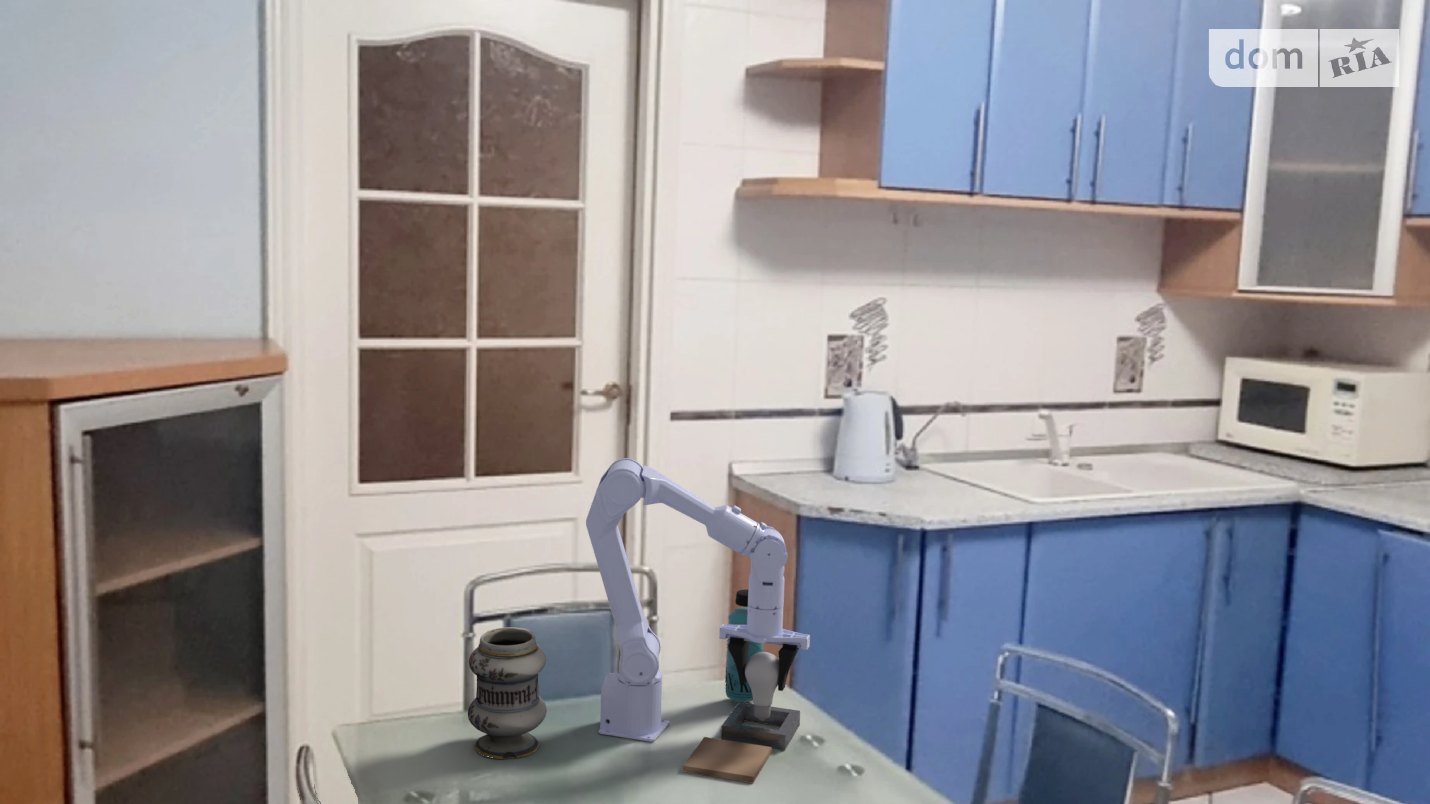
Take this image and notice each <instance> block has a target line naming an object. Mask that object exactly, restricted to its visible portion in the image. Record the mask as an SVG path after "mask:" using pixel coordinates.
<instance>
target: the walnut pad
mask: <svg viewBox="0 0 1430 804" xmlns="http://www.w3.org/2000/svg"><path fill="white" fill-rule="evenodd" d="M771 754H772V747H767V746H761V745H754V744H748V743H741V742H735V741H728V740H722V739H721V738H714V737H707V736H703V738H702V740H701V741H700V742H699V743H698V745H697V746H696V747H695V748H694V750H692V752H691V754H690V755H689V757H688V758H687V759H686V760H685V762H683V764H682V772H683V773H689V774H695V775H701V776H707V777H713V778H719V779H720V778H721V779H725V780H731V781H739V782H743V783H751V784H754V783H755V781H756V780H757V778H758V776H759V775H760V772H762V769H763V768H764V766H765V765H766V763H767V761H768V760H769V758H770V756H771Z"/></svg>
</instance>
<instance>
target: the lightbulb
mask: <svg viewBox="0 0 1430 804" xmlns="http://www.w3.org/2000/svg"><path fill="white" fill-rule="evenodd" d="M745 677H746V679H747V681H748V684H749V686H750V688H751V691H752V695H753V701H752V702H753V703H752V704H754V710H755V711H754V712H755V717H756V718H758V719H759V720H760V721H765V720H766V719H767V718H769V717H770V711H771V707H772V705H773V700H774V695H775V691H776V689H777V688H778V680H779V657H777V656H776V655H774V654H773V653H771V652H767V651H763V652H759V653H756V654H754V655H753V656H751V657H750V658H749V660H748V661H747V663H746V665H745Z"/></svg>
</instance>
